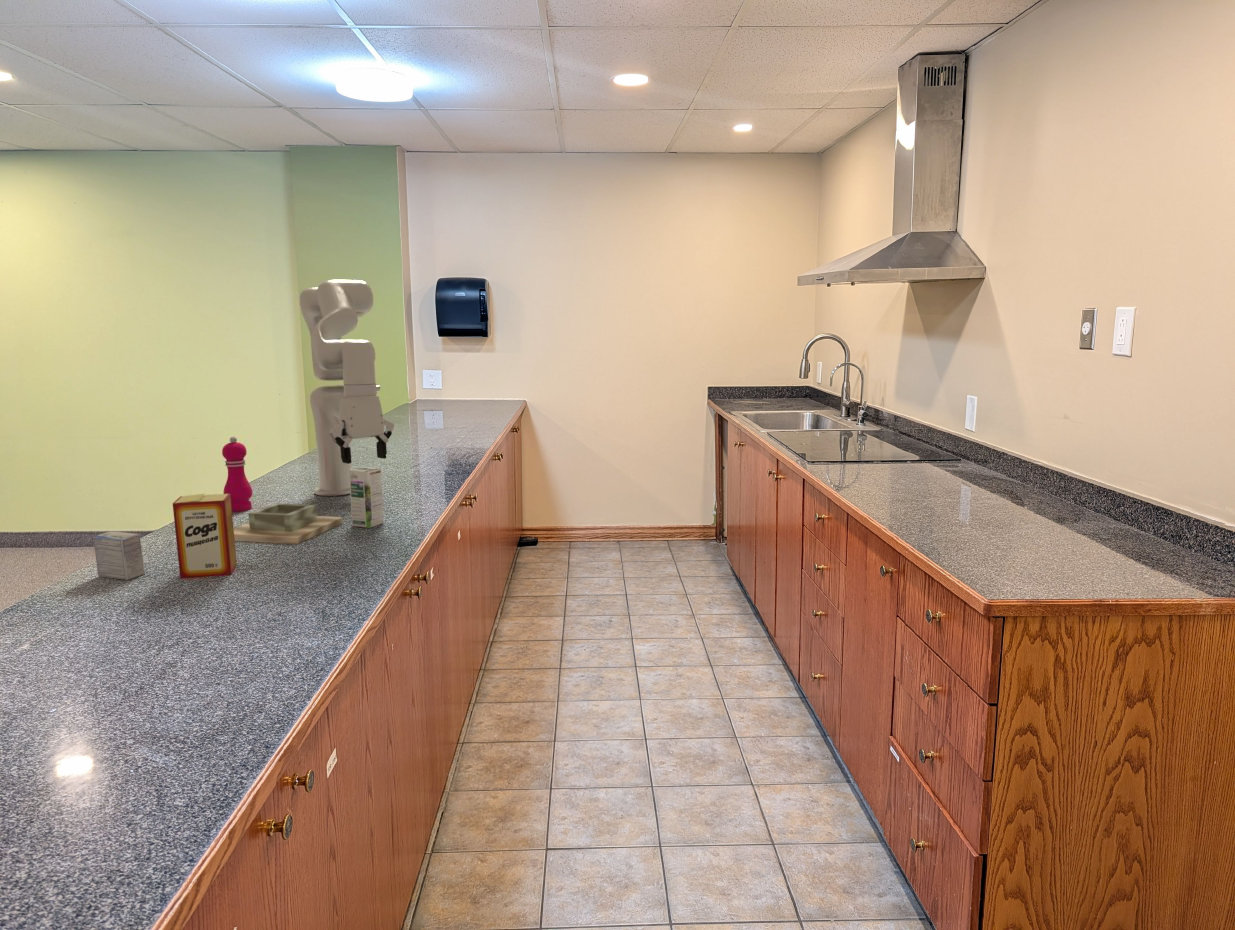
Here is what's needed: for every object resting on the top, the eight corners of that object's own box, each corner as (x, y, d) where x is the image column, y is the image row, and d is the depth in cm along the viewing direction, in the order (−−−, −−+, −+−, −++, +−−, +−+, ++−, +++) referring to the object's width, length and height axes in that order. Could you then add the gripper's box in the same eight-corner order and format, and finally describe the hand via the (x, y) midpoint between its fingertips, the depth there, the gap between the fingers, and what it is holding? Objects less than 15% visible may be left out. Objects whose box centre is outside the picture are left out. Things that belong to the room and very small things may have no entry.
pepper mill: (258, 506, 231) (252, 434, 228) (244, 512, 224) (238, 438, 221) (234, 505, 232) (227, 434, 228) (219, 511, 225) (212, 438, 221)
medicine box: (145, 574, 171) (141, 533, 170) (126, 581, 167) (121, 539, 166) (116, 570, 174) (112, 530, 172) (97, 577, 170) (92, 535, 168)
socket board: (273, 519, 216) (271, 498, 215) (342, 523, 212) (341, 501, 211) (221, 539, 197) (219, 516, 196) (297, 544, 193) (295, 521, 192)
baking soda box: (236, 565, 177) (230, 491, 174) (231, 574, 171) (224, 498, 168) (187, 569, 175) (180, 494, 172) (180, 578, 168) (172, 501, 165)
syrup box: (351, 526, 209) (347, 469, 206) (366, 521, 214) (363, 465, 212) (369, 528, 207) (366, 471, 204) (384, 523, 212) (381, 467, 210)
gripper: (382, 388, 213) (386, 455, 216) (319, 393, 201) (324, 463, 203) (399, 389, 208) (403, 457, 211) (335, 394, 196) (340, 466, 198)
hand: (364, 460), depth 207 cm, fingers open, 9 cm apart
